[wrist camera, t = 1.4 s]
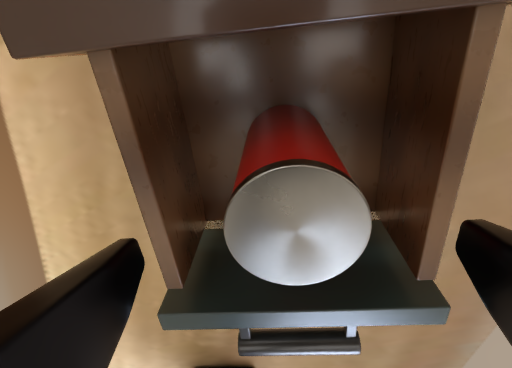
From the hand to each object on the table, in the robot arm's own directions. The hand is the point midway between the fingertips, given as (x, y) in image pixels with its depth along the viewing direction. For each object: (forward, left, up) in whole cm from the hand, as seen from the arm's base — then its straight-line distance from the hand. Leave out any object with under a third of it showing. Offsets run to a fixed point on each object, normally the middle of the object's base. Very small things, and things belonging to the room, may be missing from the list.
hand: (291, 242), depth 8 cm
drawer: (-2, 0, -10) cm, 10 cm away
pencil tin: (0, 0, -8) cm, 8 cm away
